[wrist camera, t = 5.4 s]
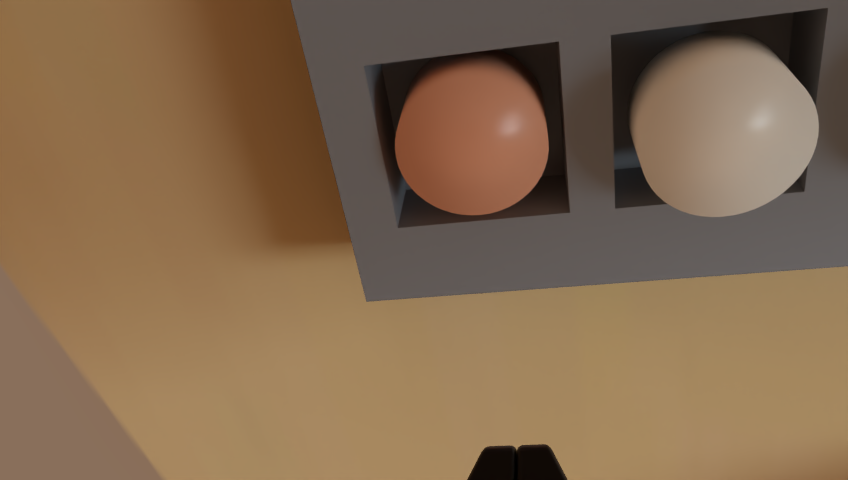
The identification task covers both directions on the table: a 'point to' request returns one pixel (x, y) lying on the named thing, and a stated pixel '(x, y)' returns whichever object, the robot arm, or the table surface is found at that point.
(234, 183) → the table surface
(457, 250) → the button panel
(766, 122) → the cream button
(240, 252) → the table surface
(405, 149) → the terracotta button
